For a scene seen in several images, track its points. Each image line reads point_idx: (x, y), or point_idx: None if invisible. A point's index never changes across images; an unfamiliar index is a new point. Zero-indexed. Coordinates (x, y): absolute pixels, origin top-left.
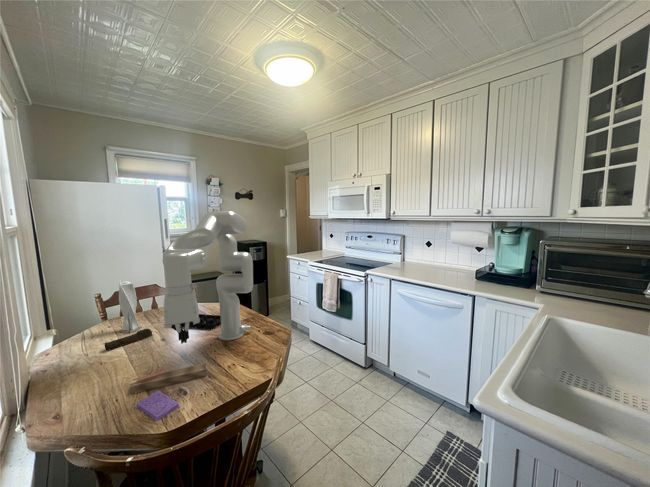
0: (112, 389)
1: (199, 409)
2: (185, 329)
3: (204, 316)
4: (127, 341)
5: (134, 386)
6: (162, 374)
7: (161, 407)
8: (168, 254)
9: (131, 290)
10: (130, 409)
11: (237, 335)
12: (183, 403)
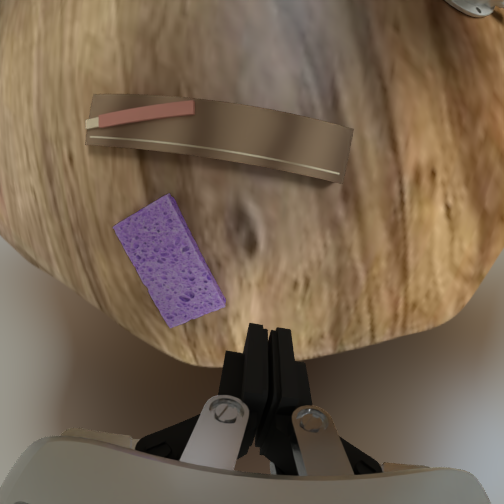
0: (59, 92)
1: None
2: (277, 464)
3: None
4: None
5: (96, 144)
6: (180, 115)
7: (178, 296)
8: None
9: None
10: (104, 230)
11: (476, 7)
12: (239, 294)
